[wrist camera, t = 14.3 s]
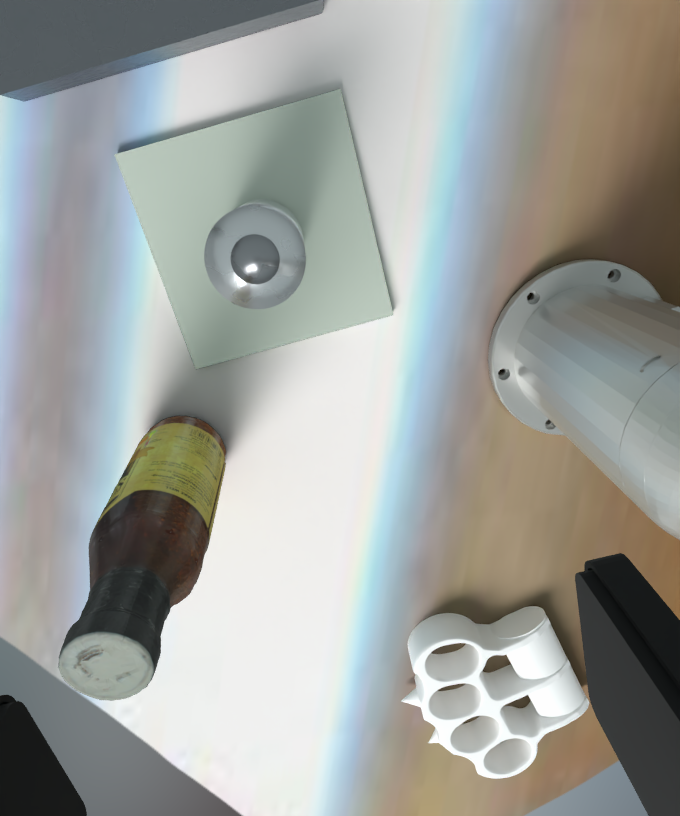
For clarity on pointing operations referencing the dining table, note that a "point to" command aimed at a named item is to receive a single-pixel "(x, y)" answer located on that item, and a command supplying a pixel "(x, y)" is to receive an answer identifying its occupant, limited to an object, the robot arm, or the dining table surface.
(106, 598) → the sauce bottle
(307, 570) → the dining table surface
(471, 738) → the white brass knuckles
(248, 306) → the aluminium plug
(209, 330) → the sage mat
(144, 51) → the plate
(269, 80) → the dining table surface
